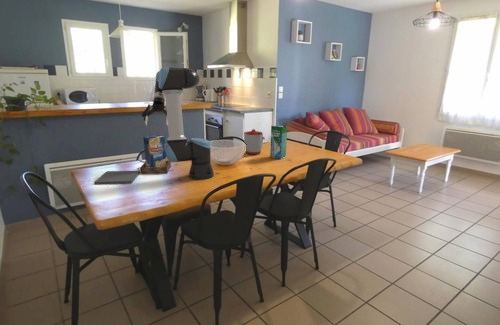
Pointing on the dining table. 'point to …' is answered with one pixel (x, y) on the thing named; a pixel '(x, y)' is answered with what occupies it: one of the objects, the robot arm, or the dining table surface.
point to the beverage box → (155, 151)
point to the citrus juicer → (253, 141)
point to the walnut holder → (155, 169)
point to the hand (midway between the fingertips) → (156, 124)
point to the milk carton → (278, 141)
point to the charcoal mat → (117, 177)
